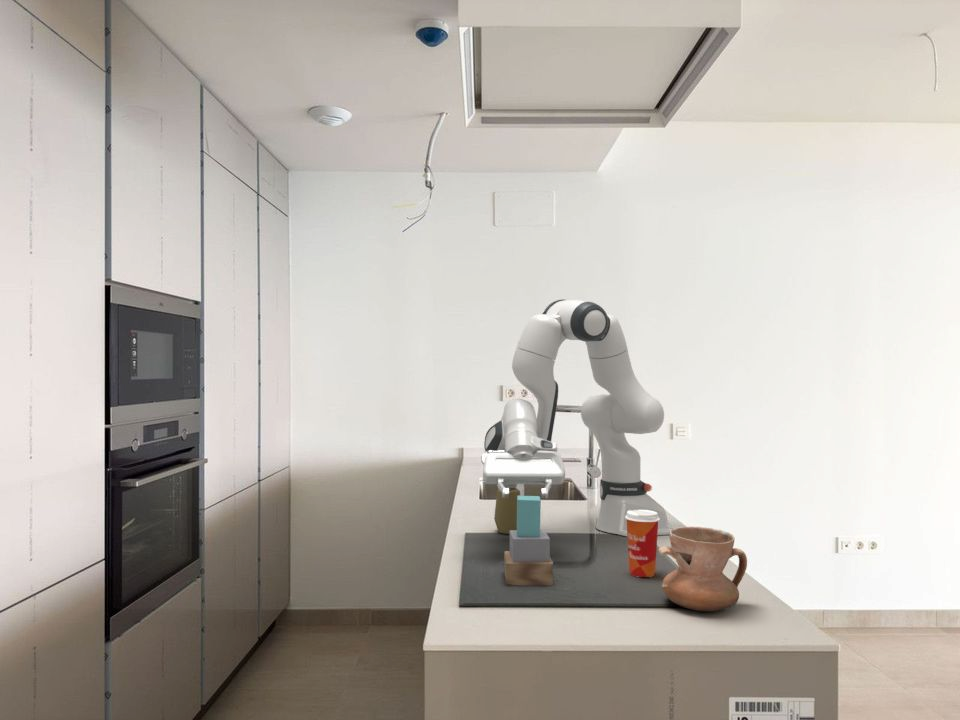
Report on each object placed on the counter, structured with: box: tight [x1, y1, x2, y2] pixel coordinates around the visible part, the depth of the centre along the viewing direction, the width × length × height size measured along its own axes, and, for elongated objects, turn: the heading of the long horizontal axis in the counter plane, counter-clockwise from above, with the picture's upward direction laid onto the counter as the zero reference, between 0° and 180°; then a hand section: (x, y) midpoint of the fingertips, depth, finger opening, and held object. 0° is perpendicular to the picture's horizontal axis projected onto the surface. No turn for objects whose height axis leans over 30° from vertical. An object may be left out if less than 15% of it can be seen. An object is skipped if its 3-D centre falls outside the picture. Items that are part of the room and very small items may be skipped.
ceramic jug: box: [658, 525, 748, 612], centre depth 136 cm, size 18×14×14 cm
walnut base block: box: [503, 550, 554, 587], centre depth 152 cm, size 10×10×5 cm
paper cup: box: [625, 510, 660, 578], centre depth 156 cm, size 8×8×14 cm
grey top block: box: [509, 529, 551, 562], centre depth 153 cm, size 8×8×5 cm
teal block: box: [517, 495, 542, 537], centre depth 153 cm, size 5×5×8 cm
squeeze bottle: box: [493, 484, 520, 535], centre depth 196 cm, size 8×8×18 cm
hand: (525, 496), depth 165 cm, fingers open, 8 cm apart
